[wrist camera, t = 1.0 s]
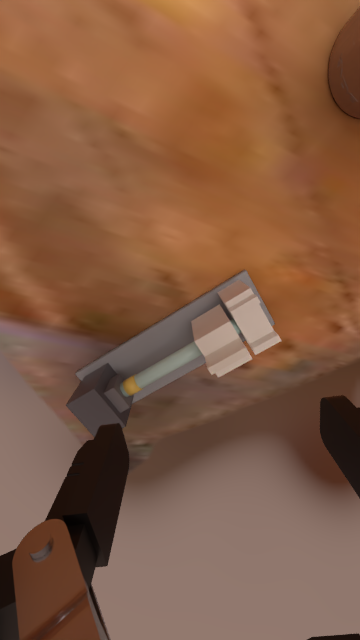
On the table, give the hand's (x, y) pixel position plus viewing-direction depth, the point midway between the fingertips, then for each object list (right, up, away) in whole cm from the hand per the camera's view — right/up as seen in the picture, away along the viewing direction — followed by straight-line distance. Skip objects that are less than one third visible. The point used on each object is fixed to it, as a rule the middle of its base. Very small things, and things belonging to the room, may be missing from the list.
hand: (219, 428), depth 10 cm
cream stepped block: (+3, +3, +22) cm, 22 cm away
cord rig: (-2, +1, +25) cm, 25 cm away
